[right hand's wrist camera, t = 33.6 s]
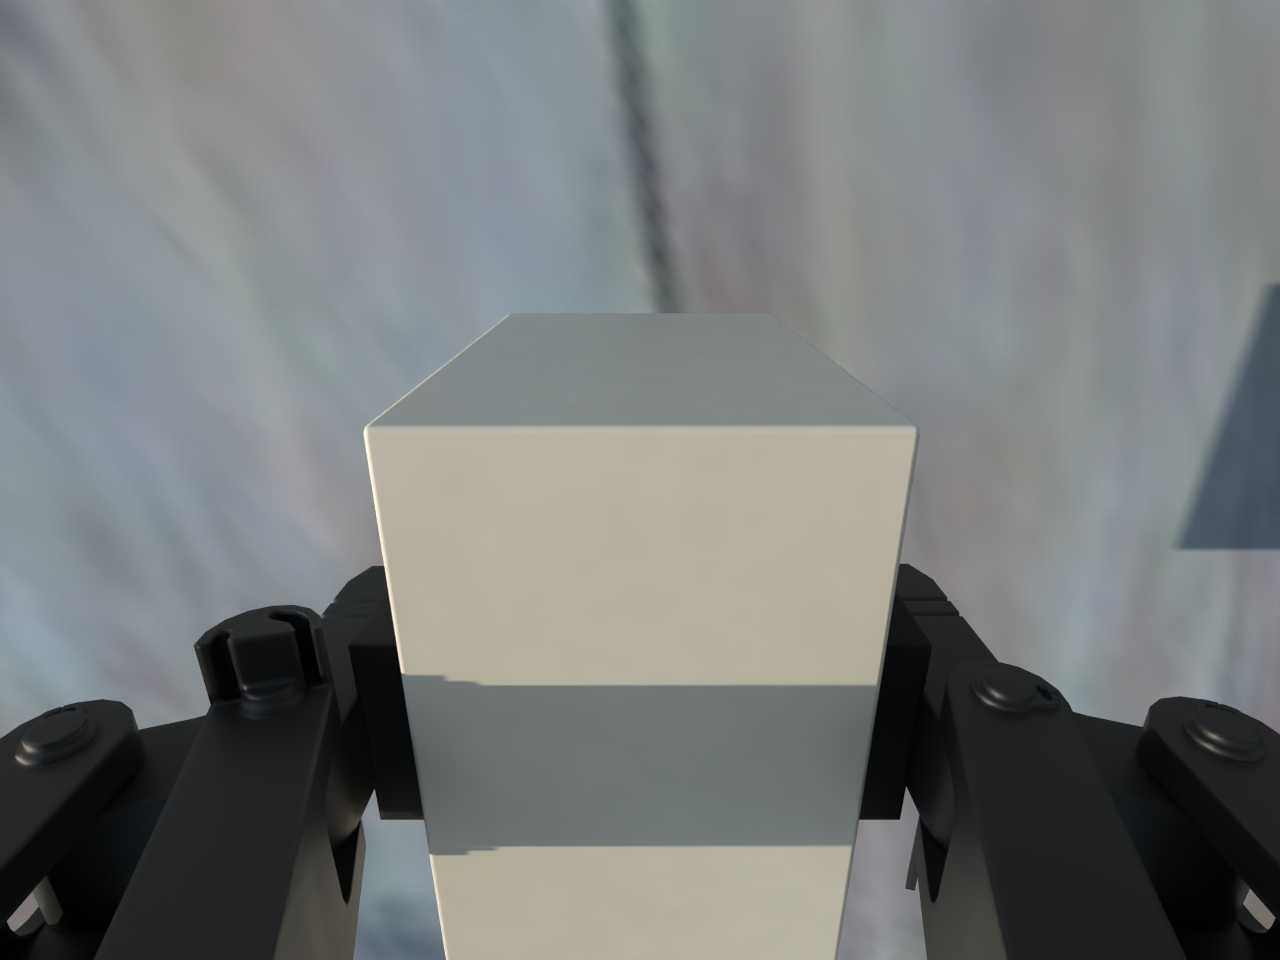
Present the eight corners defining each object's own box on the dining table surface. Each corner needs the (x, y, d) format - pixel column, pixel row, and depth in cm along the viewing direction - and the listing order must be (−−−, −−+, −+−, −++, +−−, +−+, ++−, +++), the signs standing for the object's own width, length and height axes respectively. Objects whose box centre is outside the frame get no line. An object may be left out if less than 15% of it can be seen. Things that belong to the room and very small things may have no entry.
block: (532, 662, 17) (451, 1005, 9) (508, 313, 14) (359, 426, 6) (748, 661, 17) (831, 1005, 9) (772, 312, 14) (924, 426, 6)
